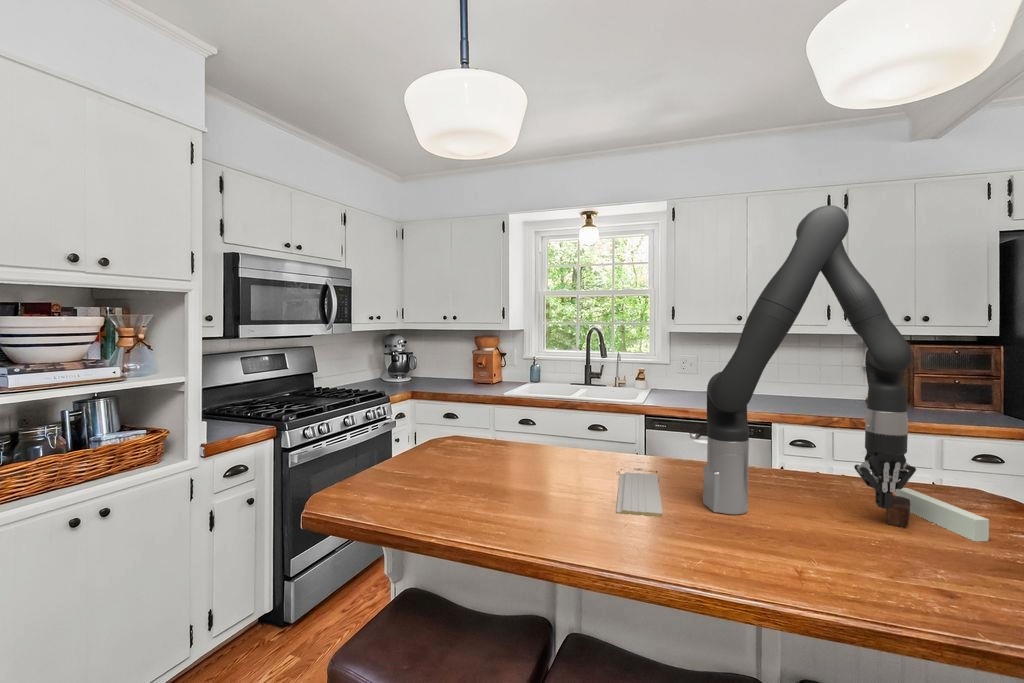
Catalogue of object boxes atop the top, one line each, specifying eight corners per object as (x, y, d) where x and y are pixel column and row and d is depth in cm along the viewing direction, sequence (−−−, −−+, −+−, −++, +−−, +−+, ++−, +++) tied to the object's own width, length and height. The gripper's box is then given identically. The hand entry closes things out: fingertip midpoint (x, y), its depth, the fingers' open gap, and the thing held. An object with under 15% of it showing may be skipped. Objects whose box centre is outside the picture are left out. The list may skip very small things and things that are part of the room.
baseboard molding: (610, 515, 119) (662, 520, 116) (610, 503, 119) (662, 507, 116) (615, 476, 149) (657, 479, 146) (615, 466, 149) (657, 469, 146)
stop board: (974, 541, 103) (975, 519, 103) (895, 506, 123) (895, 488, 123) (988, 541, 103) (989, 519, 103) (906, 505, 123) (907, 487, 123)
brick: (907, 530, 109) (908, 508, 109) (885, 525, 112) (886, 504, 112) (910, 516, 117) (910, 496, 117) (889, 511, 120) (889, 492, 120)
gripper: (870, 434, 106) (868, 514, 107) (929, 433, 107) (926, 513, 108) (845, 426, 114) (843, 501, 115) (900, 426, 115) (898, 501, 115)
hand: (883, 507), depth 111 cm, fingers closed
